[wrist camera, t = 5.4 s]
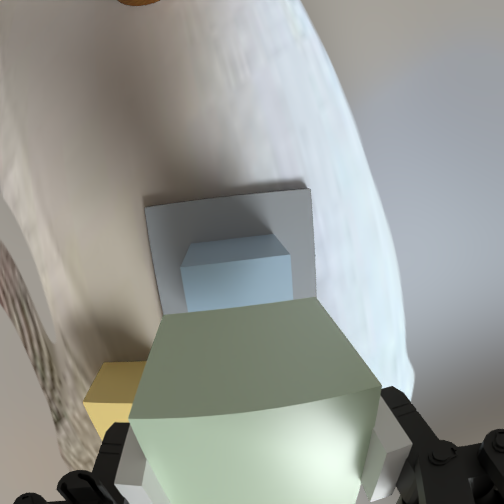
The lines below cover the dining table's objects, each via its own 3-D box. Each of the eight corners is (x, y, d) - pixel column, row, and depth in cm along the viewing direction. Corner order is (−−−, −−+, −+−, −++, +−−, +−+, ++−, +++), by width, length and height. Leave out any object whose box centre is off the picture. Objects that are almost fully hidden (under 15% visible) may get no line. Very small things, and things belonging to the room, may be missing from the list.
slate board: (147, 206, 23) (144, 207, 22) (307, 188, 23) (310, 188, 23) (174, 349, 26) (173, 354, 25) (314, 332, 26) (317, 336, 26)
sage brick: (163, 314, 12) (127, 419, 6) (315, 296, 12) (381, 385, 7) (191, 424, 14) (186, 528, 8) (315, 408, 14) (354, 504, 8)
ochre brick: (104, 361, 26) (82, 402, 20) (165, 359, 26) (154, 403, 20) (122, 410, 27) (108, 452, 21) (180, 409, 28) (174, 454, 22)
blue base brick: (190, 243, 23) (180, 267, 17) (273, 233, 23) (290, 254, 17) (202, 319, 24) (198, 361, 19) (279, 309, 25) (295, 349, 19)
